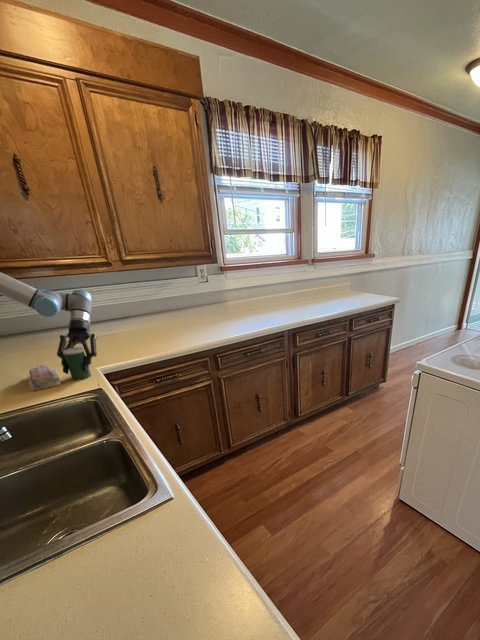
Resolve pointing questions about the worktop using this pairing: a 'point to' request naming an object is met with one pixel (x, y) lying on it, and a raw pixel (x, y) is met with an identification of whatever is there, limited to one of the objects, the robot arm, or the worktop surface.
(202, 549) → the worktop surface
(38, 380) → the packaged product
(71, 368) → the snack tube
